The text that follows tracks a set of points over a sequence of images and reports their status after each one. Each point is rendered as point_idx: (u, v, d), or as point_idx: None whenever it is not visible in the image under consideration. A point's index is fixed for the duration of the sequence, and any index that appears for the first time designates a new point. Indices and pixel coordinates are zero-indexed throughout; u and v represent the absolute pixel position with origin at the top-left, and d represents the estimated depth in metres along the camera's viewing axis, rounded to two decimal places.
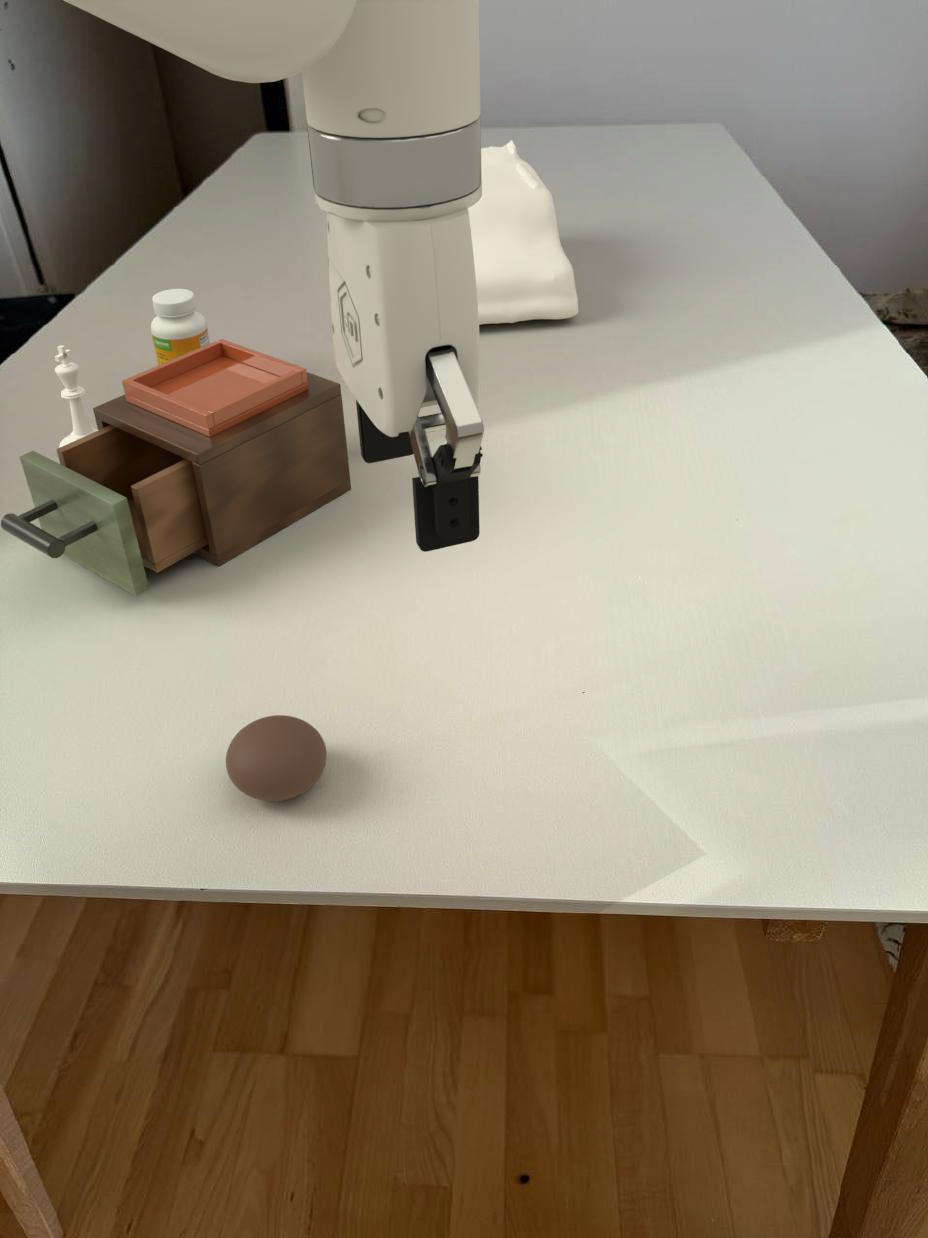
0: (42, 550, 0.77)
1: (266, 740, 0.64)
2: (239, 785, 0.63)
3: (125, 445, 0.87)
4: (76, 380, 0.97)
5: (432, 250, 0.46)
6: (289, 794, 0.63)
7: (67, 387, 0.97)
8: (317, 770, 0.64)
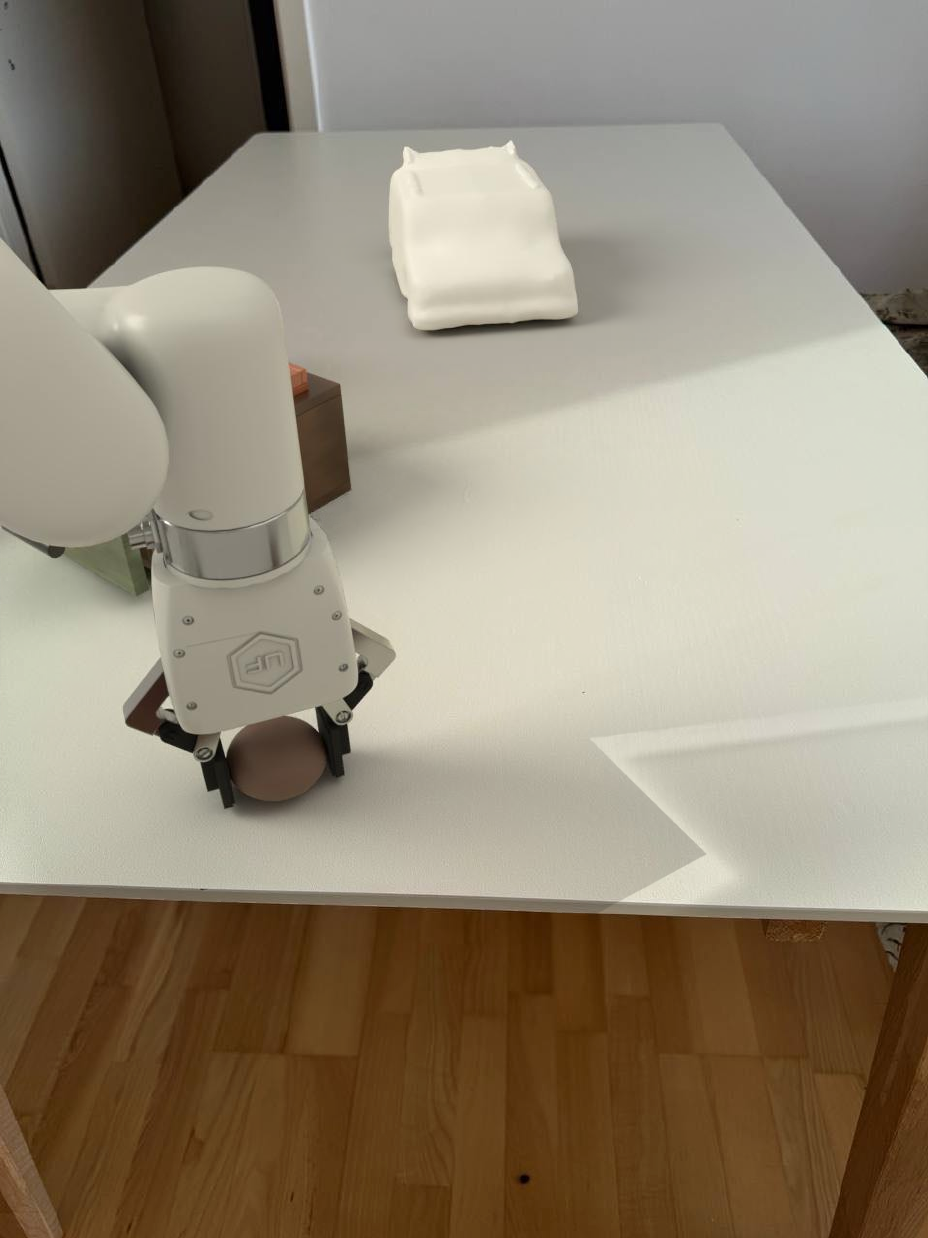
0: (42, 550, 0.77)
1: (266, 740, 0.64)
2: (239, 785, 0.63)
3: None
4: None
5: None
6: (289, 794, 0.63)
7: None
8: (317, 770, 0.64)
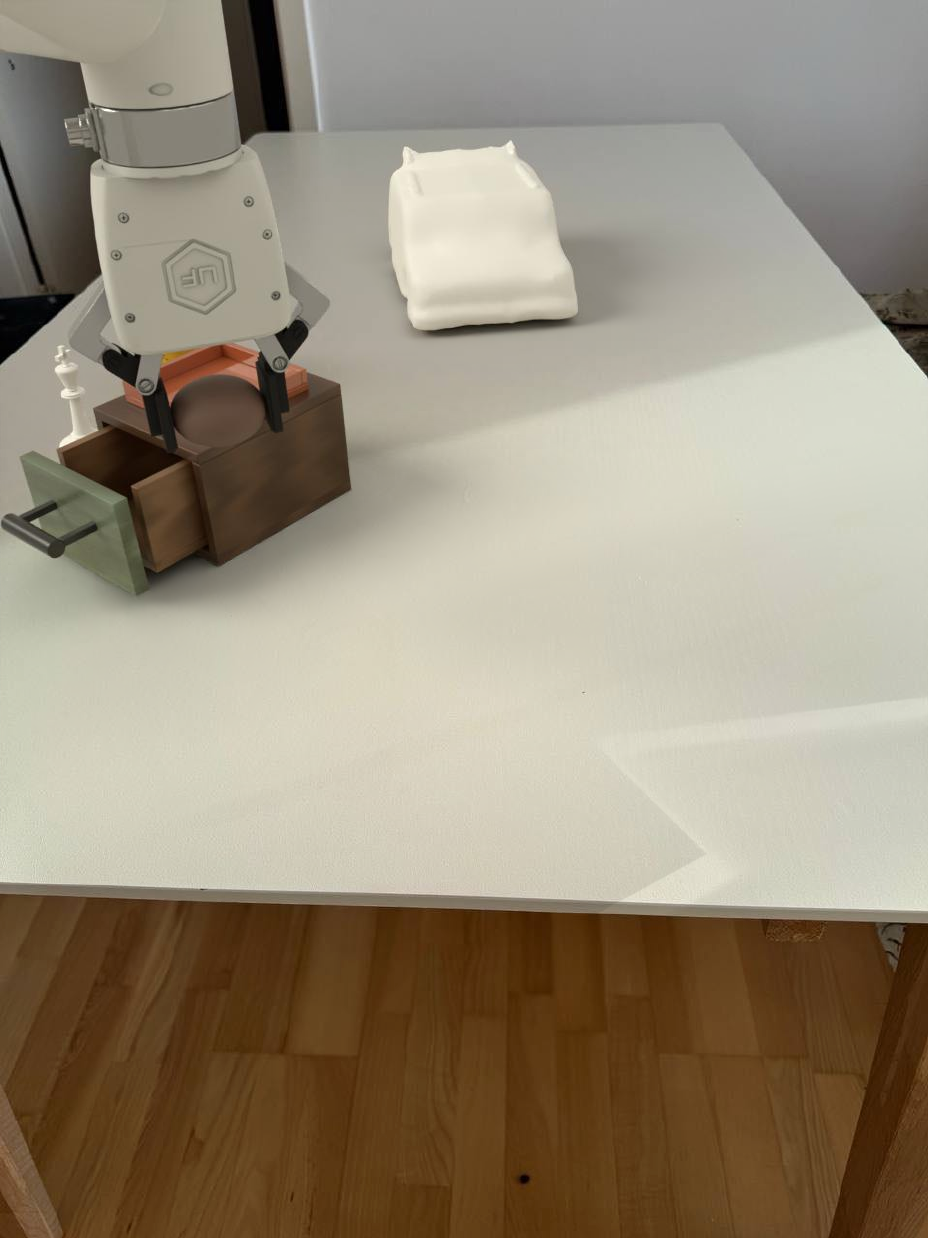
0: (42, 550, 0.77)
1: (207, 385, 0.67)
2: (181, 426, 0.67)
3: (125, 445, 0.87)
4: (76, 380, 0.97)
5: None
6: (228, 434, 0.67)
7: (67, 387, 0.97)
8: (255, 416, 0.67)
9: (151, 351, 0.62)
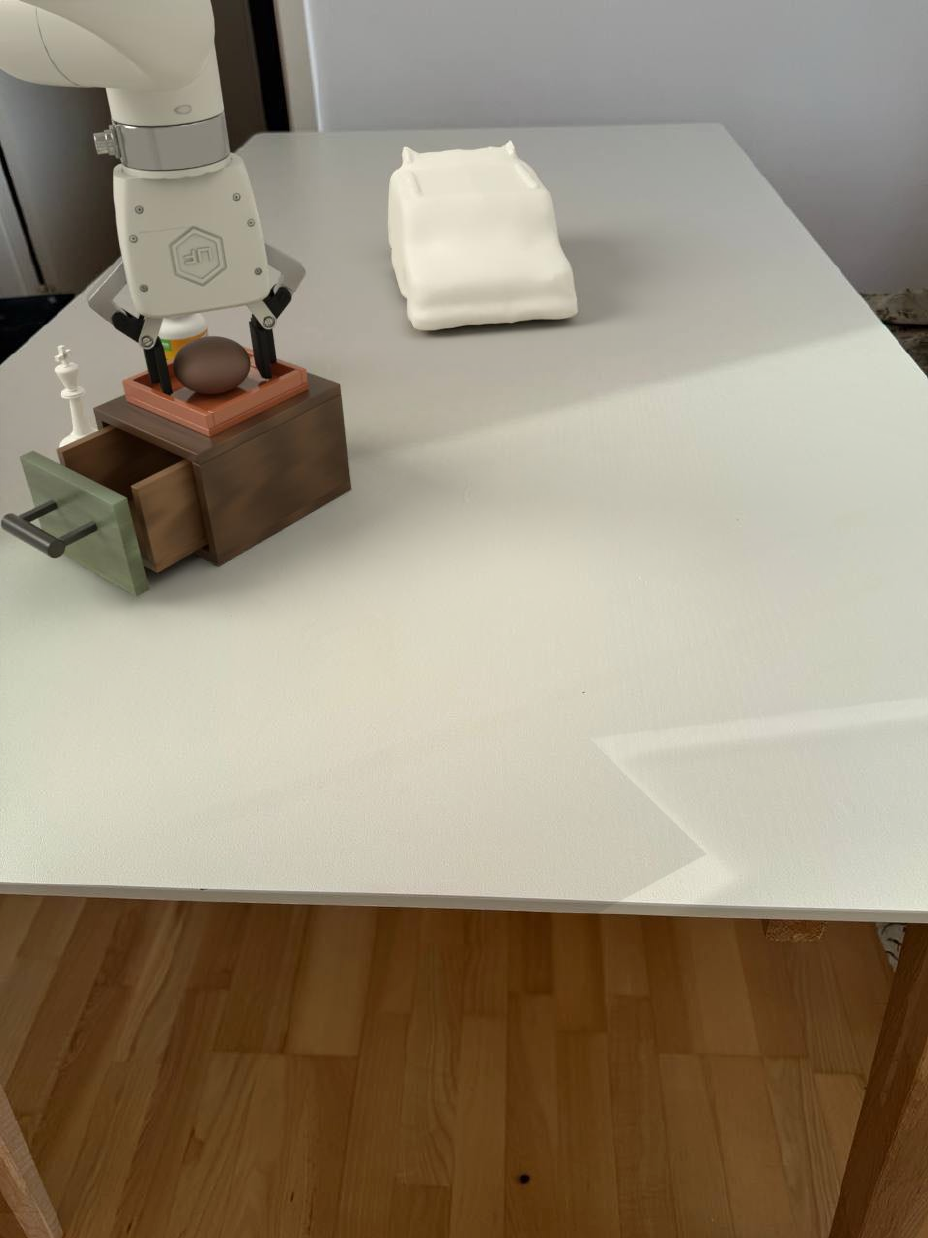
0: (42, 550, 0.77)
1: (203, 344, 0.84)
2: (182, 377, 0.84)
3: (125, 445, 0.87)
4: (76, 380, 0.97)
5: None
6: (220, 383, 0.83)
7: (67, 387, 0.97)
8: (242, 368, 0.84)
9: (160, 315, 0.79)
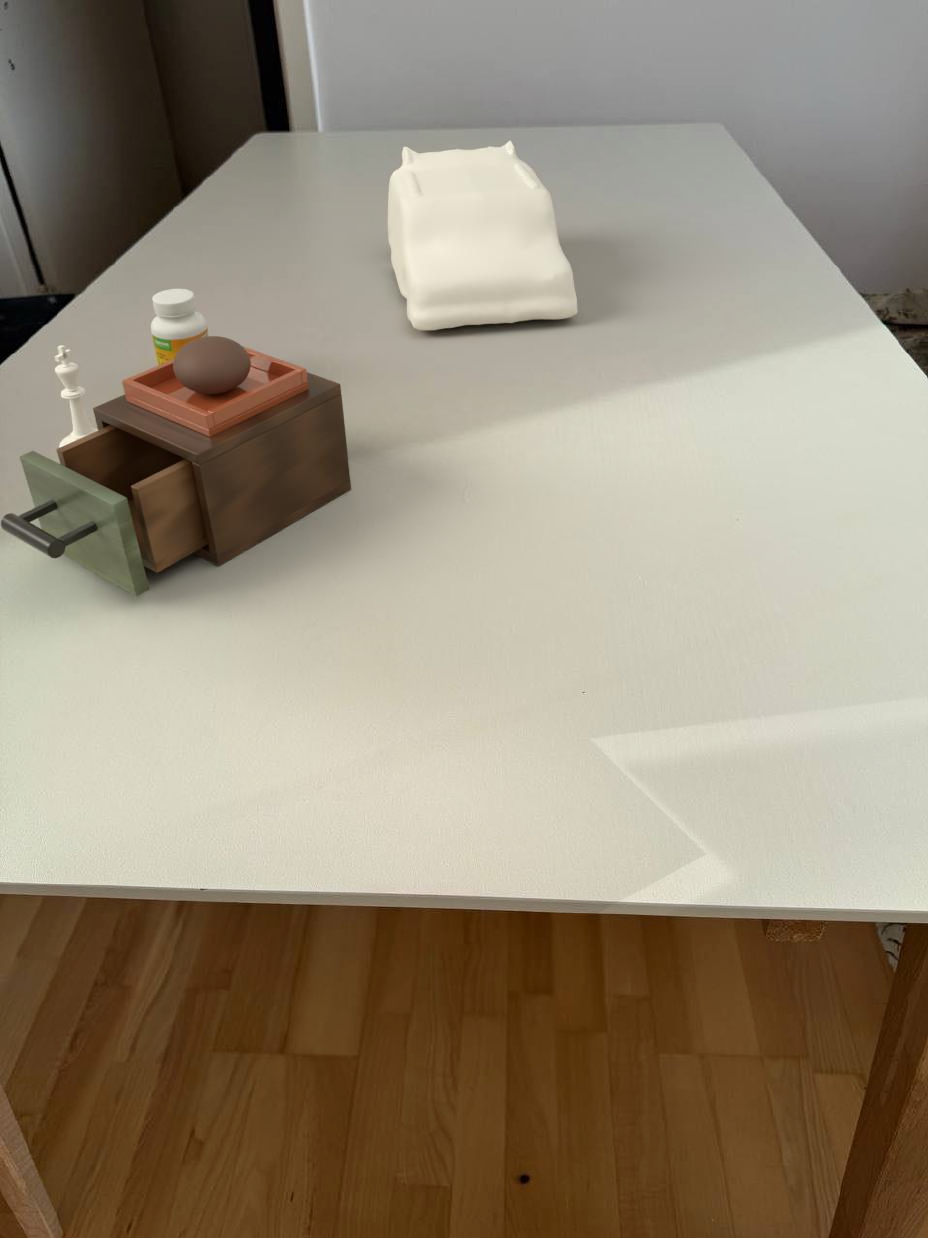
0: (42, 550, 0.77)
1: (203, 344, 0.84)
2: (182, 377, 0.84)
3: (125, 445, 0.87)
4: (76, 380, 0.97)
5: None
6: (220, 383, 0.83)
7: (67, 387, 0.97)
8: (242, 369, 0.84)
9: None
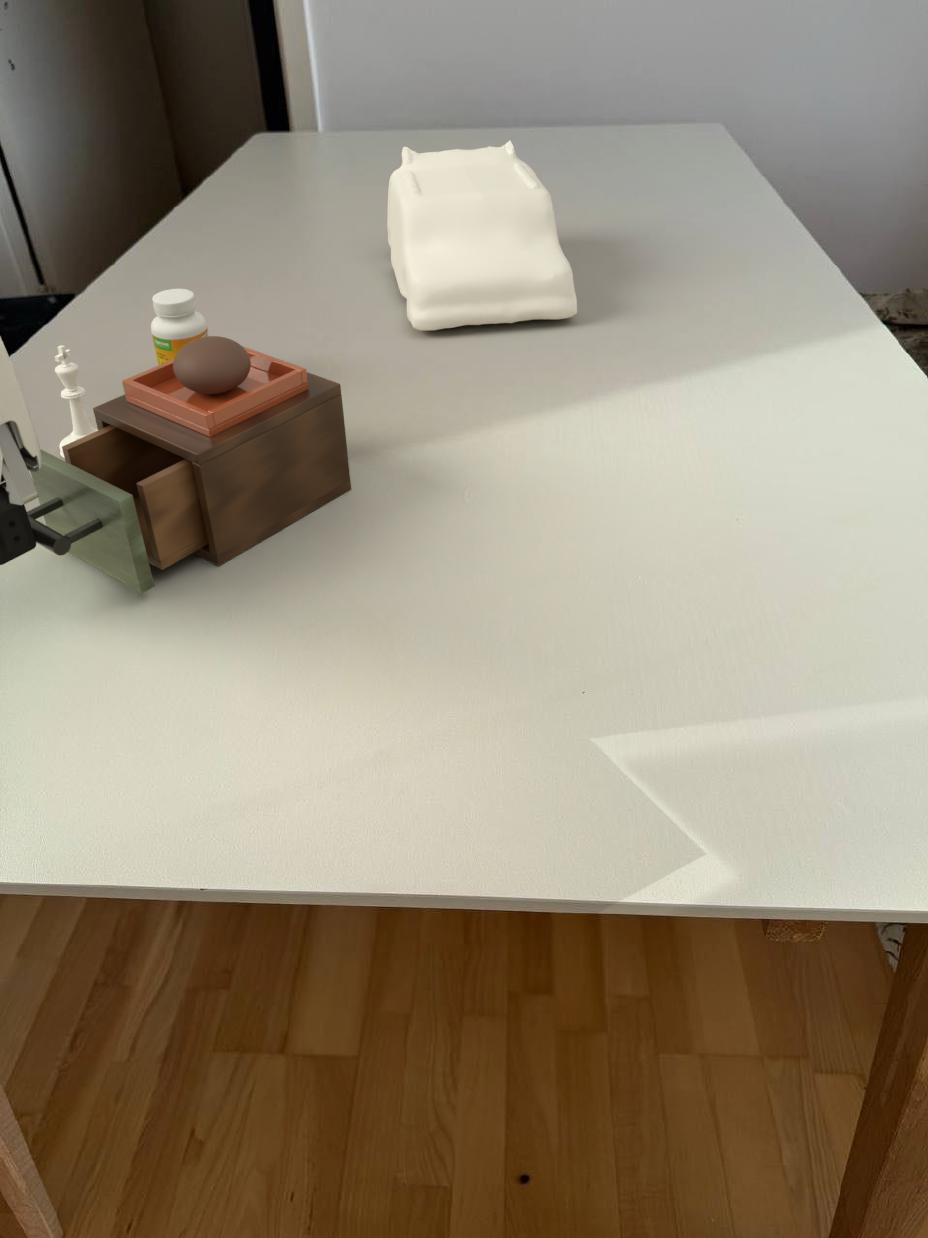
0: (48, 547, 0.77)
1: (203, 344, 0.84)
2: (182, 377, 0.84)
3: (130, 442, 0.87)
4: (76, 380, 0.97)
5: None
6: (220, 383, 0.83)
7: (67, 387, 0.97)
8: (242, 369, 0.84)
9: None
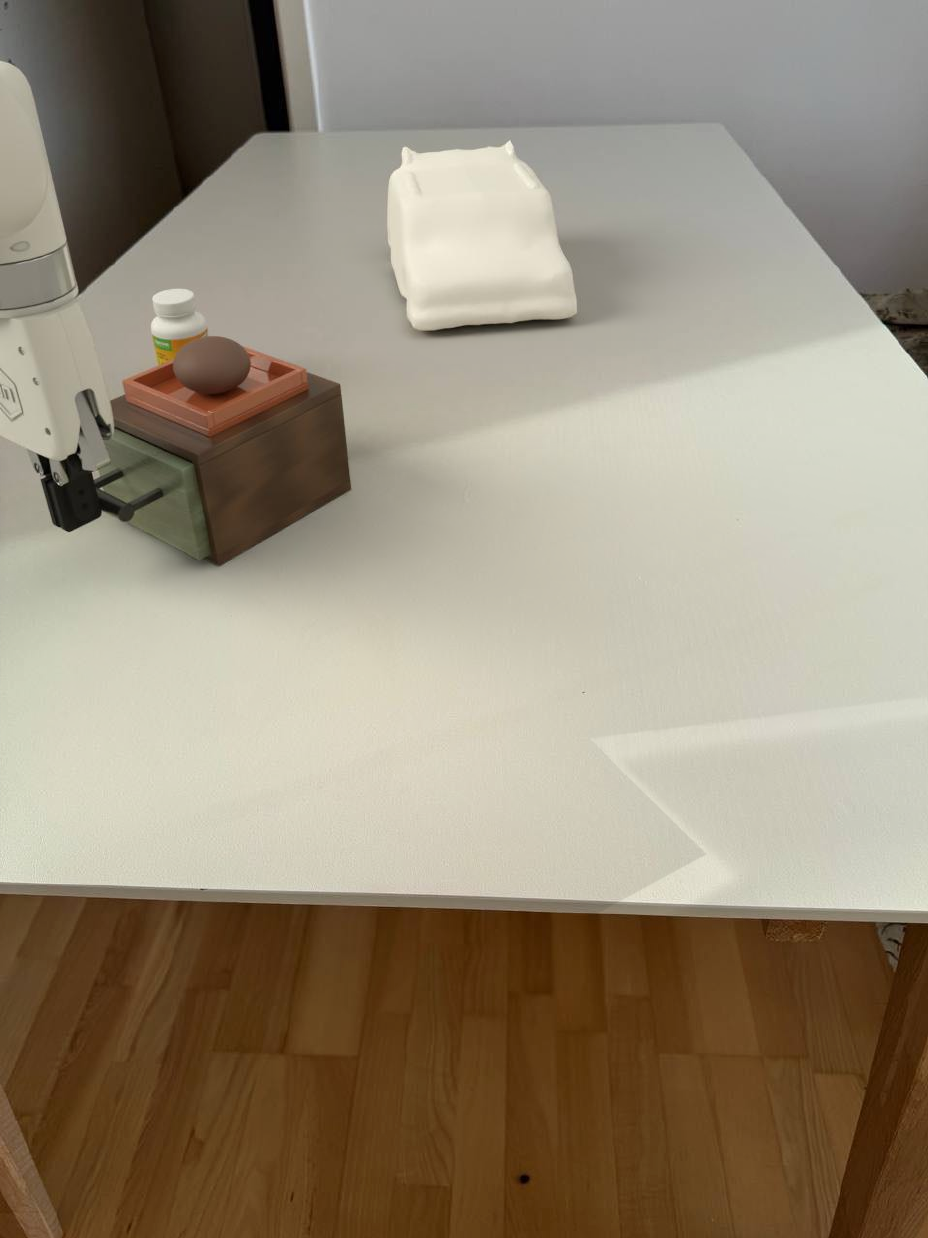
0: (113, 514, 0.81)
1: (203, 344, 0.84)
2: (182, 377, 0.84)
3: None
4: None
5: (64, 328, 0.70)
6: (220, 383, 0.83)
7: None
8: (242, 369, 0.84)
9: None
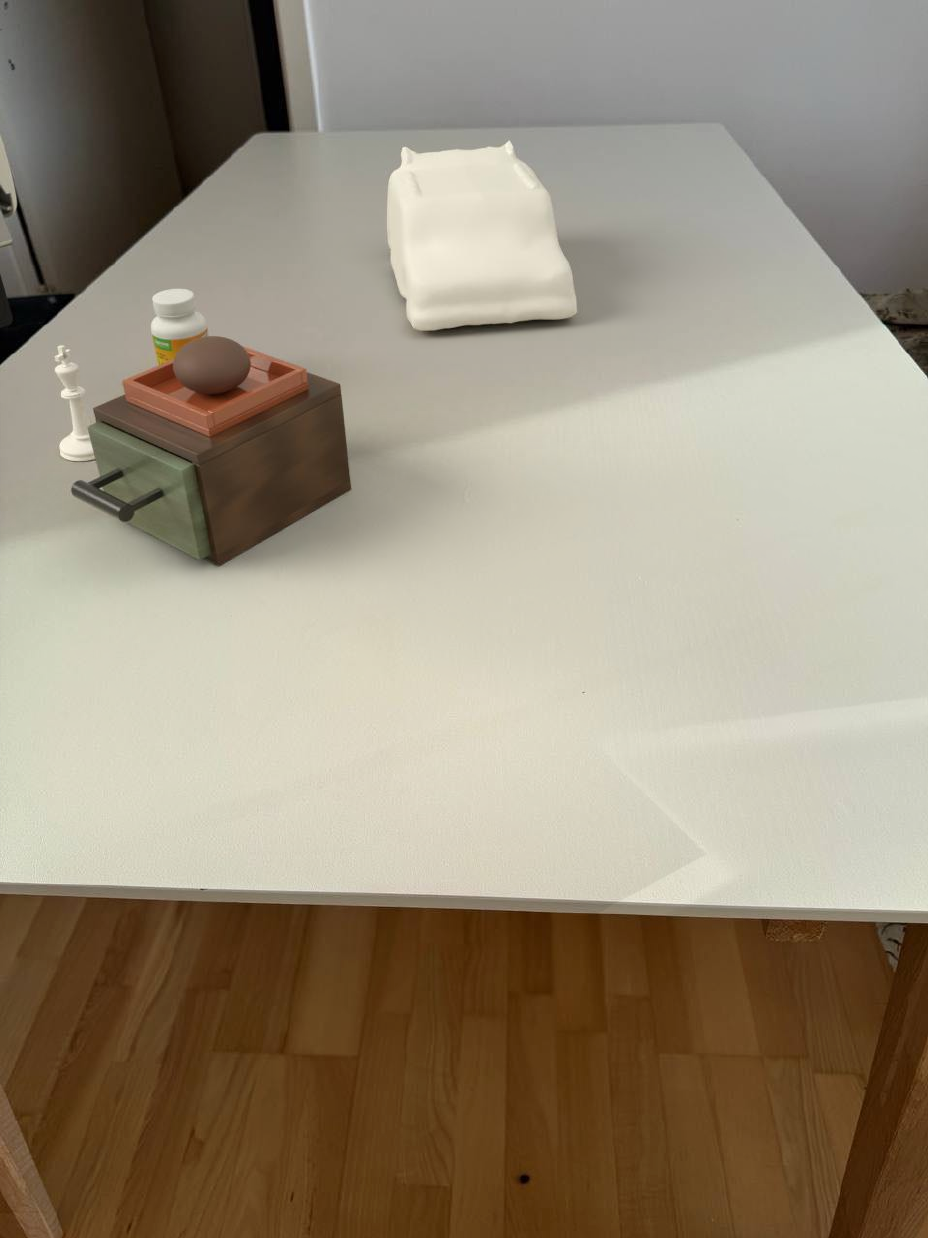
0: (113, 514, 0.81)
1: (203, 344, 0.84)
2: (182, 377, 0.84)
3: None
4: (76, 380, 0.97)
5: None
6: (220, 383, 0.83)
7: (67, 387, 0.97)
8: (242, 369, 0.84)
9: None
